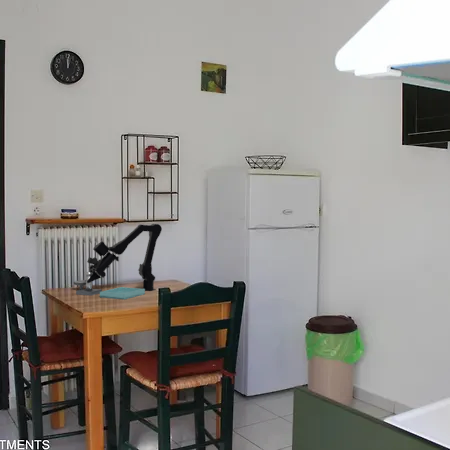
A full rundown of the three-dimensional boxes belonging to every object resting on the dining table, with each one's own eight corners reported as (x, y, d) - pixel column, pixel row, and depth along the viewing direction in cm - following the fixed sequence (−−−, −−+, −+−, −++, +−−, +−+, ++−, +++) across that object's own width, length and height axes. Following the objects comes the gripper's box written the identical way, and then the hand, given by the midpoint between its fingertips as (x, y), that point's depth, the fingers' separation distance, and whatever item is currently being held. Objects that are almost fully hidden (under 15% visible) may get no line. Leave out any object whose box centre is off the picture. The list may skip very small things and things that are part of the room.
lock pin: (88, 292, 325) (88, 271, 324) (94, 293, 323) (94, 272, 322) (83, 293, 320) (83, 272, 320) (89, 294, 319) (89, 273, 318)
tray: (120, 292, 327) (120, 287, 327) (144, 294, 321) (144, 288, 321) (99, 297, 309) (99, 291, 309) (124, 299, 303) (124, 293, 303)
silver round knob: (79, 288, 342) (79, 279, 341) (91, 289, 338) (91, 280, 338) (70, 290, 334) (70, 281, 334) (82, 291, 330) (82, 282, 330)
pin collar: (87, 291, 328) (87, 288, 328) (101, 293, 324) (101, 289, 324) (76, 294, 319) (76, 290, 319) (90, 295, 315) (90, 291, 315)
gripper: (92, 250, 331) (72, 270, 327) (99, 253, 314) (79, 274, 310) (105, 263, 335) (86, 283, 330) (114, 267, 318) (94, 288, 313)
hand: (86, 282), depth 321 cm, fingers closed on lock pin, 4 cm apart
